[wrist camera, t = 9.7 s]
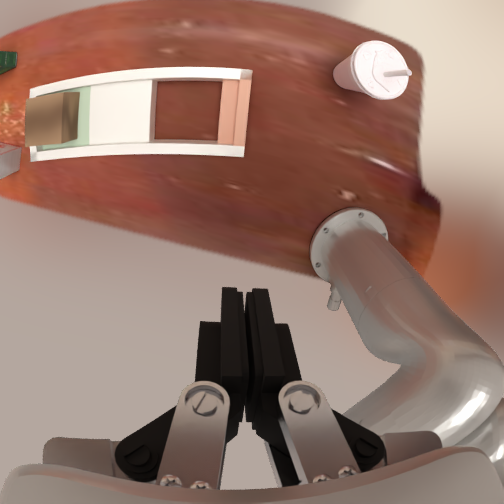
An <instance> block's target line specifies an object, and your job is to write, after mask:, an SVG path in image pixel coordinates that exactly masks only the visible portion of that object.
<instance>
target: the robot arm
mask: <svg viewBox="0 0 504 504" xmlns="http://www.w3.org/2000/svg"><path fill="white" fill-rule="evenodd" d="M359 213H360V214H359ZM324 228H325V229H324ZM310 260H311V263H312V266H313V268H314V270H315V272H316V273H317V274H318V275H319V277H321V278H322V279H323V280H325V281H327V282H329V283H330V284H331V288H330V289H331V292H332V293H331V296H330V298H329V301H328V305H327V307H328V309H330V310H332V311H336V310H338V309H339V306H340V303H341V299H342V300H343V303H344V305H345V307H346V309H347V311H348V313H349V315H350V316H351V318H352V321H353V323H354V325H355V327H356V329H357V331H358V333H359V335H360V337H361V339H362V341H363V343H364V344H365V346H366V348H367V349H368V350H369V351H370V352H371V353H372V354H373V355H375V356H376V357H377V358H380V359H382V360H384V361H387V362H391V363H396V364H401V367H400V368H399V369H398V371H397V372H396V373H395V374H393V375H392V376H391V377H390V378H389V379H388V380H387V381H386V382H385V383H383V384H382V385H381V386H380V387H378V388H377V389H376V390H375V391H373V392H372V393H370V394H369V395H368V396H366V397H365V398H364V399H362V400H361V401H360V402H358V403H357V404H355V405H354V406H353V407H351V408H350V409H349V410H347V411H346V412H345V413H343V414H342V415H341V414H340V413H338V412H336V411H334V410H332V409H331V407H330V405H329V403H328V402H327V399H326V397H325V395H324V393H323V392H322V390H321V389H320V388H319V387H317V386H316V385H315V384H312V383H310V382H307V381H302V378H301V374H300V370H299V366H298V362H297V358H296V354H295V350H294V346H293V342H292V338H291V334H290V329H289V326H288V324H275V322H274V318H273V312H272V308H271V302H270V297H269V292H268V289H256V288H253V289H252V292H247V294H246V303H245V312H244V304H243V292H237V288H231V287H222V301H221V322H205V321H200V328H199V338H198V350H197V362H196V374H195V382H194V383H192V384H190V385H188V386H187V387H185V388H184V389H183V390H182V392H181V395H180V397H179V400H178V403H177V405H176V406H175V407H174V408H172V409H170V410H169V411H167V412H166V413H164V414H163V415H161V416H160V417H158V418H157V419H155V420H154V421H152V422H150V423H149V424H147V425H146V426H144V427H142V428H141V429H139V430H137V431H136V432H134V433H133V434H131V435H129V436H128V437H126V438H124V439H123V440H122V441H111V440H110V439H80V438H64V437H56V438H52V439H50V440H48V441H47V443H46V444H45V445H44V449H43V464H28V465H22V466H19V467H17V468H15V469H14V470H13V471H11V472H10V474H9V475H8V477H7V479H6V481H5V483H4V485H3V488H2V491H1V494H0V504H504V398H503V397H502V396H503V394H504V365H503V363H502V361H501V359H500V358H499V357H498V355H497V353H496V352H495V351H494V350H493V349H492V348H491V346H490V345H489V344H488V343H487V342H485V341H484V340H483V339H482V338H481V337H480V336H479V335H478V334H477V333H476V332H475V331H473V330H472V329H471V328H470V327H469V326H468V325H467V324H466V323H465V322H464V321H463V320H462V319H461V318H460V317H459V316H457V315H456V314H455V313H454V312H453V311H452V310H451V308H449V306H448V305H447V304H446V303H445V302H444V301H443V300H442V299H441V297H440V296H439V295H438V294H437V293H436V292H435V291H434V290H433V289H432V287H431V286H430V285H429V284H428V283H427V282H426V281H425V280H424V279H423V278H422V276H421V275H420V274H419V273H418V272H417V271H416V270H415V269H414V268H413V267H412V266H411V264H410V263H409V262H408V261H407V260H406V259H405V258H404V257H403V256H402V255H401V254H400V253H399V252H398V251H397V250H396V249H395V248H394V247H393V246H392V245H391V244H390V243H389V242H388V232H387V229H386V226H385V224H384V223H383V221H382V220H381V219H380V218H379V217H378V216H377V215H376V214H374V213H373V212H372V211H369V210H367V209H364V208H358V207H356V208H347V209H342V210H340V211H338V212H336V213H334V214H332V215H331V216H329V217H328V218H327V219H326V220H325V221H323V222H322V223H321V225H320V226H319V227H318V229H317V230H316V232H315V234H314V236H313V238H312V241H311V244H310ZM244 406H245V413H246V422H252V429H253V430H256V434H257V435H258V436H260V437H261V438H262V439H264V442H265V443H264V444H265V447H266V451H267V454H268V457H269V460H270V464H271V467H272V470H273V473H274V476H275V479H276V483H277V486H278V488H268V489H250V490H220V486H221V478H222V472H223V465H224V459H225V452H226V445H227V443H228V442H229V441H230V440H232V439H233V438H234V437H235V436H236V435H237V433H238V427H239V422H242V418H243V412H244Z"/></svg>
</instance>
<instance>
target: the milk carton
mask: <svg viewBox="0 0 504 504" xmlns="http://www.w3.org/2000/svg"><path fill="white" fill-rule="evenodd" d="M21 149H22V147H19V146H15V145H11V144H7V143H3V142H0V179H2V178H4V177H6V176H8V175H10V174H12V173H14V172H16V171H18V170H19V167H20V157H21Z"/></svg>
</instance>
